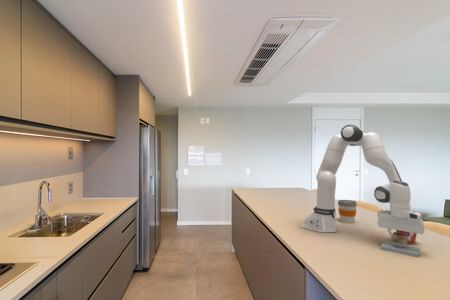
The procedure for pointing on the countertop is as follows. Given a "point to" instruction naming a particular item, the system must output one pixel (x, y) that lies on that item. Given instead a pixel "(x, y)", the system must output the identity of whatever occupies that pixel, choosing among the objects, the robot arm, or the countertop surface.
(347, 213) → the reusable coffee cup
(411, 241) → the flower pot
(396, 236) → the collar
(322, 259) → the countertop surface
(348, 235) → the countertop surface
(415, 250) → the post block
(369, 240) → the countertop surface
